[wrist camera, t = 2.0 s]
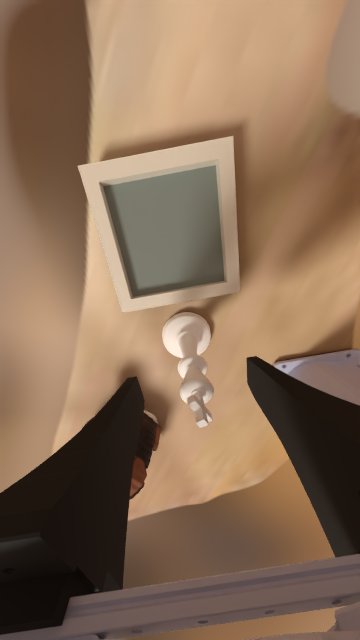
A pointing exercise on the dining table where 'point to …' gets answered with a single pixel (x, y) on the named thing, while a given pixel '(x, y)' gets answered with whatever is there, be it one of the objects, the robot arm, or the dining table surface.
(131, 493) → the pottery mug
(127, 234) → the picture frame
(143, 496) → the dining table surface
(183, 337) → the chess piece
